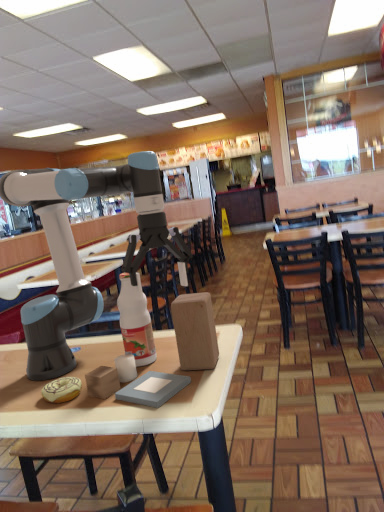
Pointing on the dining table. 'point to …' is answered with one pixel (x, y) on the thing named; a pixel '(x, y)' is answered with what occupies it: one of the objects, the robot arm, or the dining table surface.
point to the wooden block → (195, 331)
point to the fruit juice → (135, 324)
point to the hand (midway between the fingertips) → (162, 291)
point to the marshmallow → (126, 367)
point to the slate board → (153, 388)
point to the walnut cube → (102, 382)
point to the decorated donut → (62, 389)
